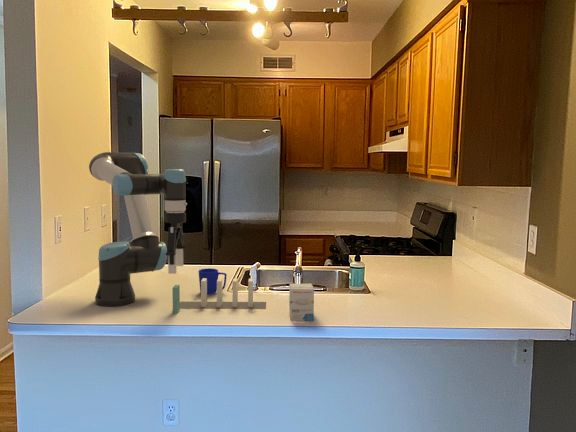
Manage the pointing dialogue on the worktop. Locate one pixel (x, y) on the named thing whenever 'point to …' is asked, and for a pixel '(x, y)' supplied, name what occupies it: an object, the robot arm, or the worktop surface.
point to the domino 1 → (204, 292)
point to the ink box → (301, 302)
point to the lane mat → (224, 305)
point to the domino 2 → (219, 292)
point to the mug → (211, 279)
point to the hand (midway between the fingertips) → (176, 269)
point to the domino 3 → (235, 292)
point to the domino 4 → (250, 293)
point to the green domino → (176, 299)
